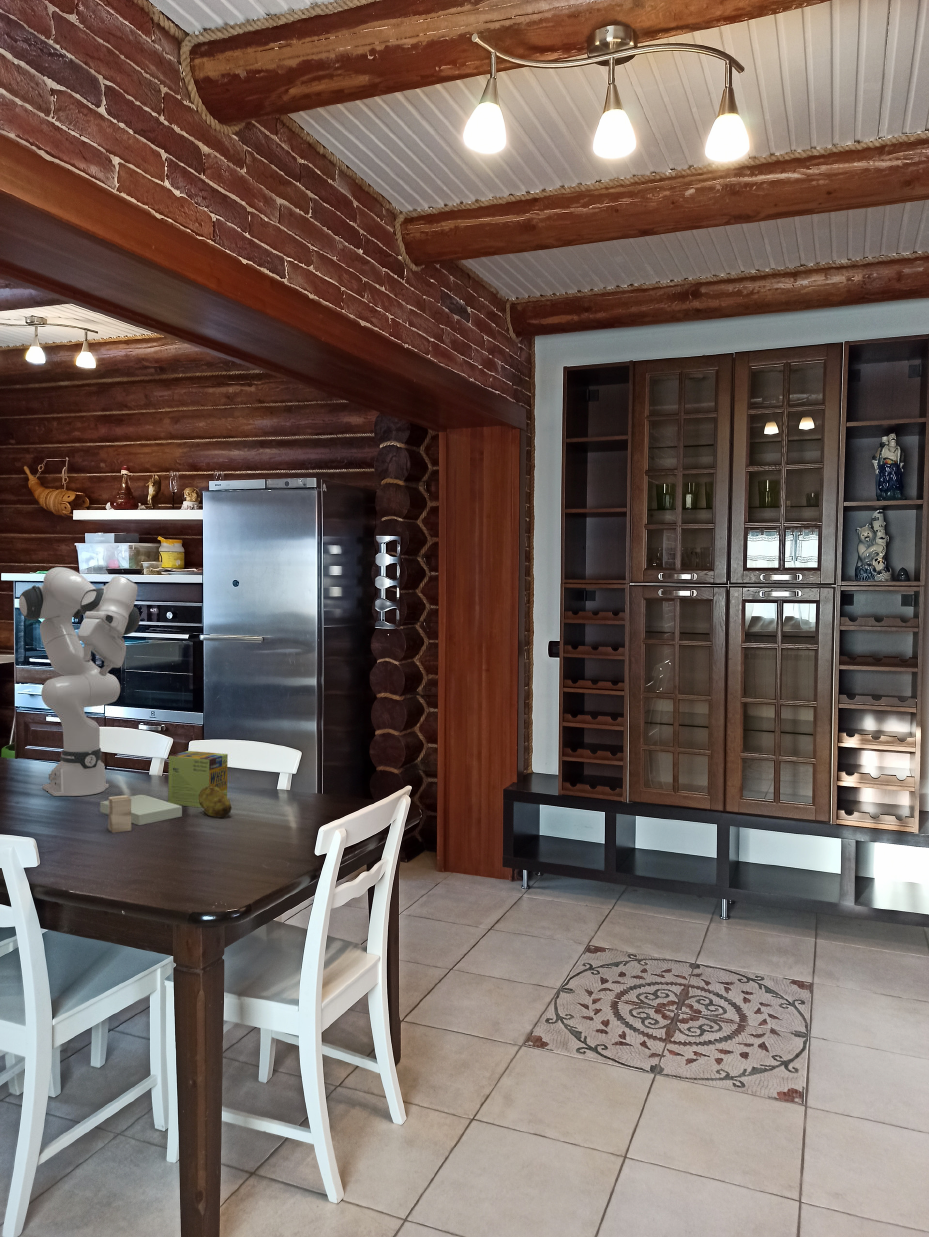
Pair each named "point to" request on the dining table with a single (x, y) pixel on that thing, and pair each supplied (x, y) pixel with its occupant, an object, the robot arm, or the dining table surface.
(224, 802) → the potato
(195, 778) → the protein box
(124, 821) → the birch block
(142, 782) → the dining table surface
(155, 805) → the green board
